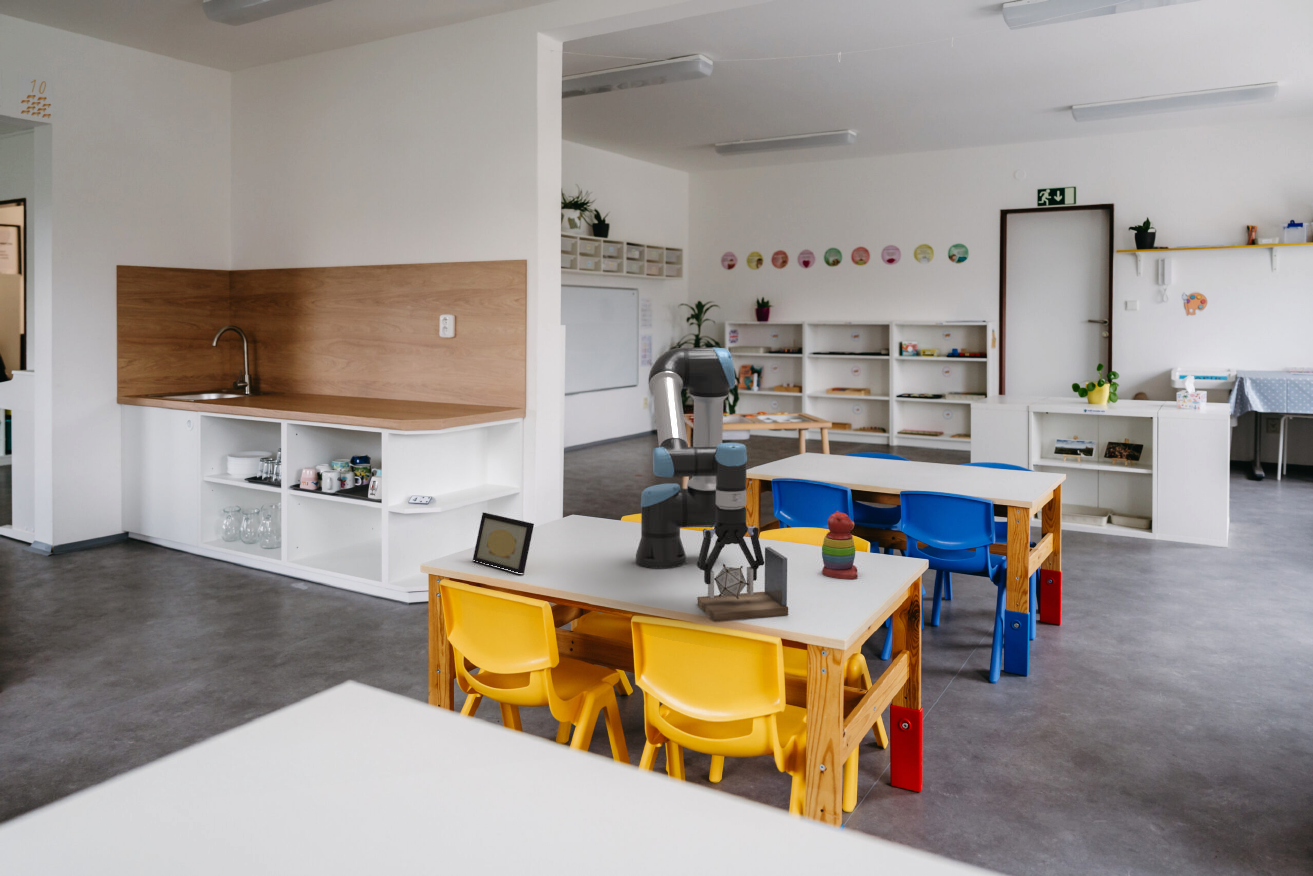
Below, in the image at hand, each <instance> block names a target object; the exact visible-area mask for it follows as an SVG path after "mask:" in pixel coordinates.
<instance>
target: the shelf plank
mask: <svg viewBox="0 0 1313 876" xmlns="http://www.w3.org/2000/svg"><path fill="white" fill-rule="evenodd" d="M738 597H739V599H737V598H736V596H729V595H721V597H719V594H717V595H715V594H714V598H710V597H709V596H708V595H705V596H697V599H696V601H697V602H696V603H697V606H698V607H699V608H700V609H701V610H702V611H703V612H704V613H705V614H706V615H707V616H708V617H709V618H710V619H711V620H712V621H713V623H717V622H727V621H739V620H748V619H749V620H750V619H759V618H770V617H771V618H772V617H784V616H789V606H788V605H787V606H781V605H780V604H778V603H777V602H776V601H775V600H773V599H772V598H771V597H769V596H768V595H767V594H766V593H765V591H753V595H750V594H749V593H747V592H743V593H741V592H740V593H739V595H738Z"/></svg>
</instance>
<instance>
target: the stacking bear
mask: <svg viewBox="0 0 1313 876" xmlns="http://www.w3.org/2000/svg"><path fill="white" fill-rule="evenodd" d="M827 526H828V530H829V531H828V532H827V533H826V535H825V536H824V538H823V543H822V545H821V557H822V563H823V568H822V571H821V572H822V574H823V576H826V577H829V578H834V579H835V578H836V579H843V580H856V579H858V576H859V574H858V573H857V572H858V568H857V566H856V565H854V562H855V558H856V546H855V541H854V537H853V534H852V533H851V531H852V530H853V529H854V527H855V522H854V521H853V520H851V518H850V517H849V515H848V514H846V513H844V512H840V511H839V510H837V511H835V512H834V513H833V514H830V516H829V517H828V519H827Z"/></svg>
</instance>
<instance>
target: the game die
mask: <svg viewBox="0 0 1313 876" xmlns="http://www.w3.org/2000/svg"><path fill="white" fill-rule="evenodd" d="M743 567H744V566H743V565H741V566H740V567H732V566H726V564H724V563H722V569H720V572H719V573H718V574H717V575H716V576H715V577H714V582H715V583H716V586H717V589H718V591H719V594H718V595H719V597H721V595H729V596H736V598H737V599H739V597H738V595H739V594H740V593H741V592H742V591H743V589H744V588H745V587H747V585H750V584H749V583H747V580H746V578H745V576H744V573H743V571H742V569H743Z"/></svg>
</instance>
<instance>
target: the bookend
mask: <svg viewBox="0 0 1313 876" xmlns="http://www.w3.org/2000/svg"><path fill="white" fill-rule="evenodd" d="M764 592H765V593H766V594H767V595H768V596H769V597H771V598H772V599H773V600H775V601H776V602H777V603H778V604H780V605H781V606H787V607H788V604H787V603H788V558H787V557H786V556H784V555H783V554H782V553H780V552H778V551H776V550H775V549H773V548H772V547H770V546H764Z"/></svg>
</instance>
